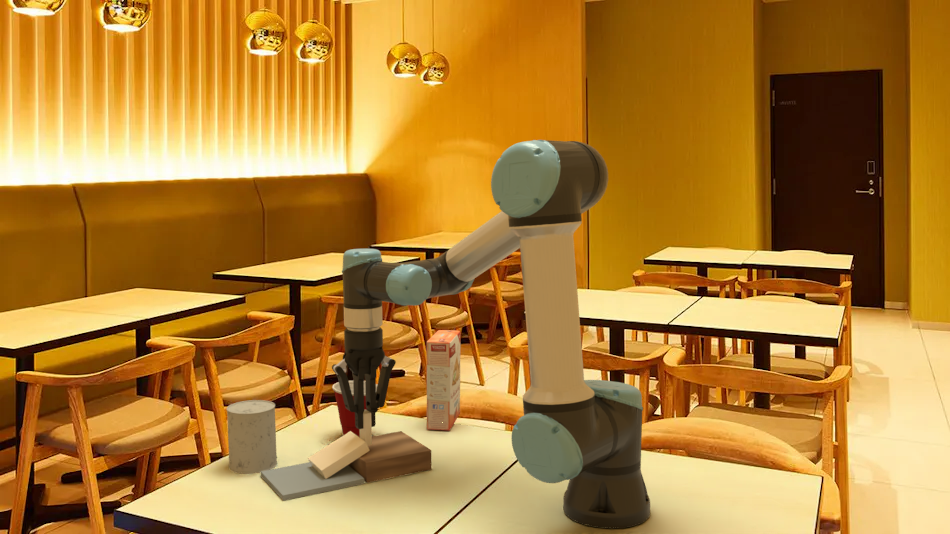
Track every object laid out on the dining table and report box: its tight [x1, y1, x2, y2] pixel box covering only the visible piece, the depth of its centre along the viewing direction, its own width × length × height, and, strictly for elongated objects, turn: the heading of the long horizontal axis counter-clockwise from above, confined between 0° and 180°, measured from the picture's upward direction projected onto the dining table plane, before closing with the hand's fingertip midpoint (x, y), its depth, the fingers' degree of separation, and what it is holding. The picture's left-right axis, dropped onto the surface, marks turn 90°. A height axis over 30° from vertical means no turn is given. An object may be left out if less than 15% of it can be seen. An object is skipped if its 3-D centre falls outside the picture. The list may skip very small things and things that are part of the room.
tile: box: [307, 431, 370, 479], centre depth 169 cm, size 8×10×2 cm
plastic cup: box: [332, 380, 378, 438], centre depth 190 cm, size 11×11×12 cm
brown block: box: [348, 430, 433, 484], centre depth 174 cm, size 14×14×4 cm
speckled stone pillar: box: [226, 399, 278, 475], centre depth 174 cm, size 10×10×12 cm
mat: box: [260, 461, 366, 502], centre depth 166 cm, size 14×16×1 cm
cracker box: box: [426, 329, 462, 432], centre depth 201 cm, size 14×6×21 cm, turn 171°
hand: (365, 443), depth 171 cm, fingers closed
